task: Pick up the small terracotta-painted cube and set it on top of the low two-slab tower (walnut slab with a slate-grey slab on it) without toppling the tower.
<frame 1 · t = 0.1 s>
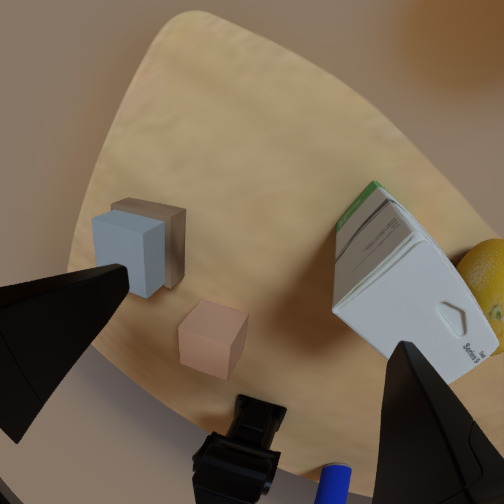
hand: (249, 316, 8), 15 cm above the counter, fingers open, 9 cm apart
beverage can: (337, 466, 35), on the counter
ink box: (392, 237, 20), on the counter
cube: (223, 324, 28), on the counter
tower base: (157, 235, 27), on the counter, touching tower top
tower top: (138, 245, 24), point 3 cm above the counter, touching tower base
fruit: (474, 273, 18), on the counter
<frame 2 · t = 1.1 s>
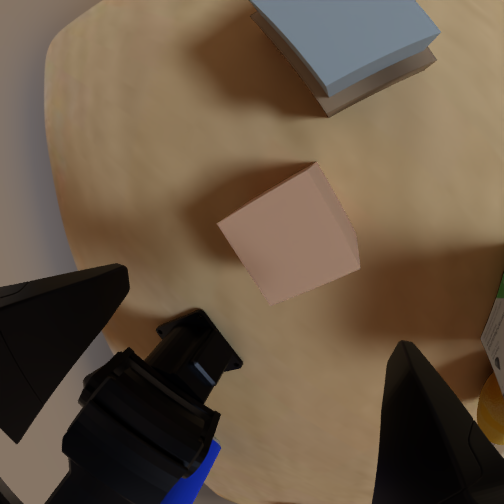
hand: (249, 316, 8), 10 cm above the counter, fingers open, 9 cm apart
beverage can: (206, 437, 33), on the counter
cube: (302, 216, 17), on the counter
tower base: (344, 46, 12), on the counter
tower top: (342, 25, 10), point 3 cm above the counter
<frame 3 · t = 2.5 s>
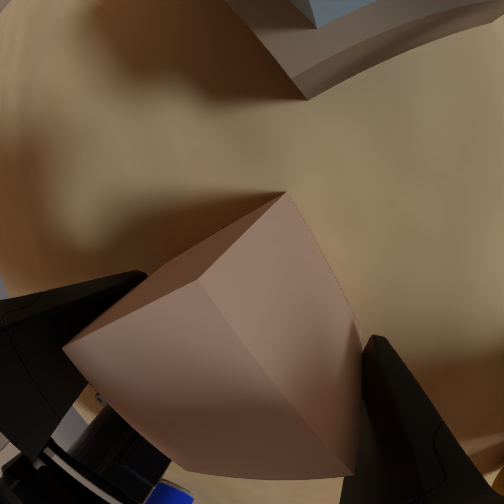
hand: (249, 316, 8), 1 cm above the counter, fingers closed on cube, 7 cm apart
beverage can: (178, 487, 25), on the counter
cube: (259, 298, 9), on the counter, touching gripper
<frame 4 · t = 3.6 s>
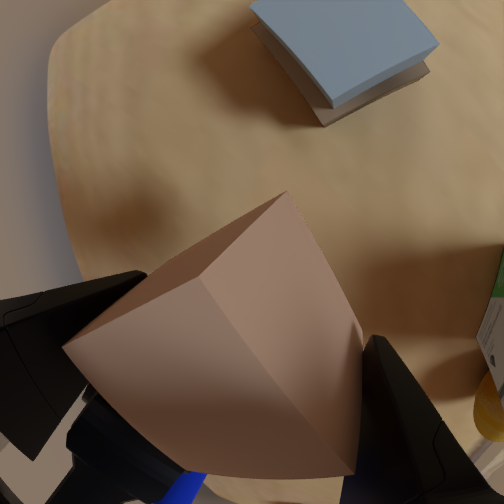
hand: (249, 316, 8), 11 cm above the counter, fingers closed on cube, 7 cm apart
beverage can: (206, 436, 34), on the counter
cube: (259, 297, 9), point 10 cm above the counter, touching gripper
tower base: (340, 57, 13), on the counter, touching tower top
tower top: (344, 38, 10), point 3 cm above the counter, touching tower base
fruit: (502, 366, 16), on the counter
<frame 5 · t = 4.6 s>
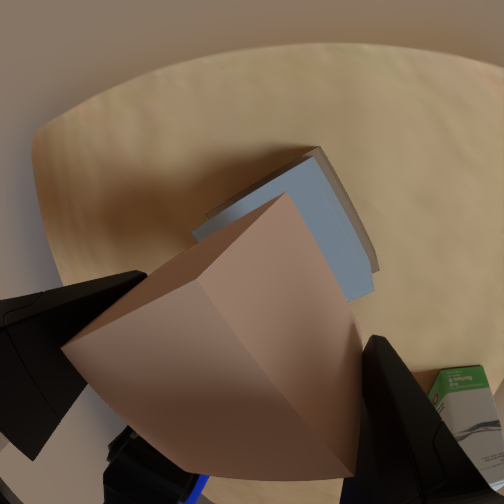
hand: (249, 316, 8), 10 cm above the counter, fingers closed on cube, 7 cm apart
beverage can: (200, 461, 38), on the counter
ink box: (445, 395, 18), on the counter
cube: (259, 298, 9), point 9 cm above the counter, touching gripper
tower base: (300, 223, 17), on the counter, touching tower top
tower top: (292, 236, 14), point 3 cm above the counter, touching tower base
when the fingers open (8 cm above the counter, at t = 5.3 s): cube drops 2 cm, resting on tower top.
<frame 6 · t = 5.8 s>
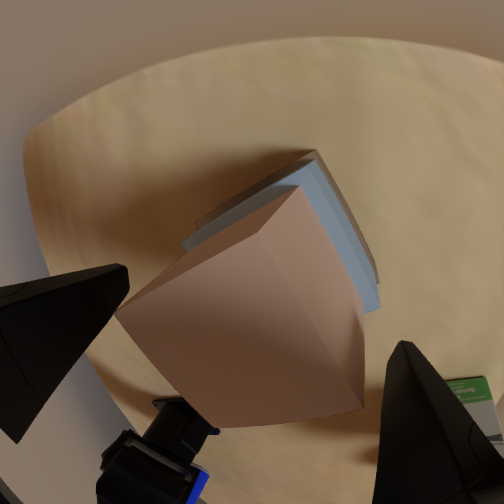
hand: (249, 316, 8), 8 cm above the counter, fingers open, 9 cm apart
beverage can: (197, 467, 37), on the counter
ink box: (446, 406, 17), on the counter
cube: (276, 274, 11), point 5 cm above the counter, touching tower top
tower base: (295, 232, 16), on the counter
tower top: (291, 246, 13), point 2 cm above the counter, touching cube
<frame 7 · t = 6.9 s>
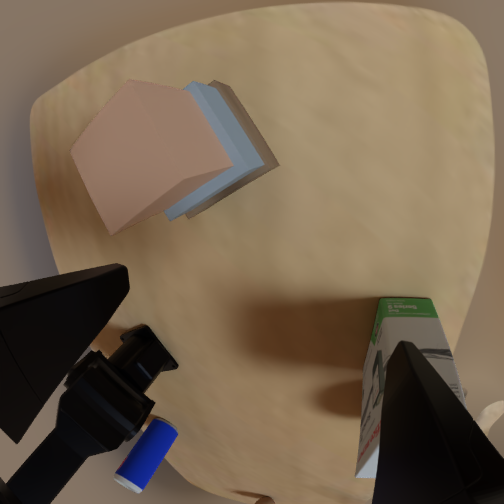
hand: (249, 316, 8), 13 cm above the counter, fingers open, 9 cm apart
egg: (268, 496, 46), on the counter
beverage can: (167, 424, 41), on the counter
ink box: (395, 336, 21), on the counter
cube: (177, 151, 15), point 6 cm above the counter, touching tower top
tower base: (217, 148, 20), on the counter, touching tower top
tower top: (203, 149, 17), point 3 cm above the counter, touching cube, tower base
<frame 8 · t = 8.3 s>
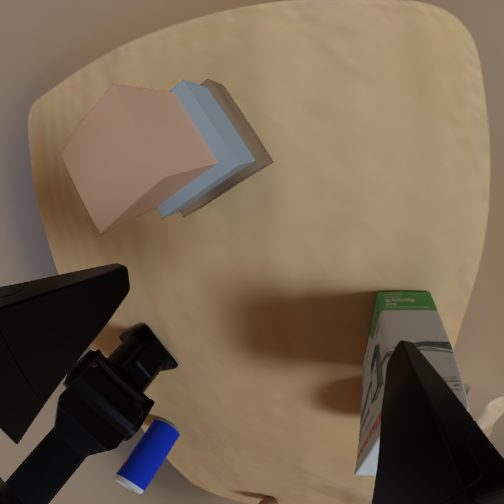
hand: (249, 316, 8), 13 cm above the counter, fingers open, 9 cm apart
egg: (271, 496, 46), on the counter
beverage can: (168, 425, 41), on the counter
ink box: (395, 331, 21), on the counter
cube: (164, 151, 15), point 6 cm above the counter, touching tower top
tower base: (212, 147, 20), on the counter
tower top: (195, 147, 17), point 3 cm above the counter, touching cube
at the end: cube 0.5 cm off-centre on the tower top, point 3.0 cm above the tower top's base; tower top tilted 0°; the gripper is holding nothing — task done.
